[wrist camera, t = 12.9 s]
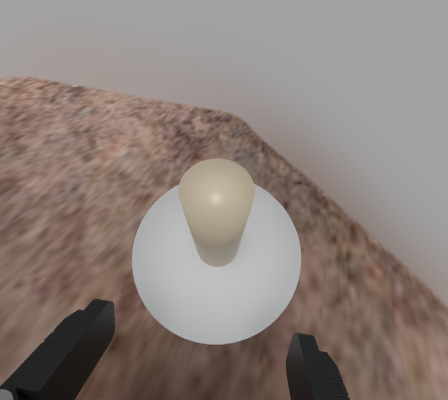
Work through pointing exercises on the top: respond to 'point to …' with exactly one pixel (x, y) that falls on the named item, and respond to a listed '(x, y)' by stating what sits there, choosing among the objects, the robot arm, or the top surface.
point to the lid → (216, 256)
